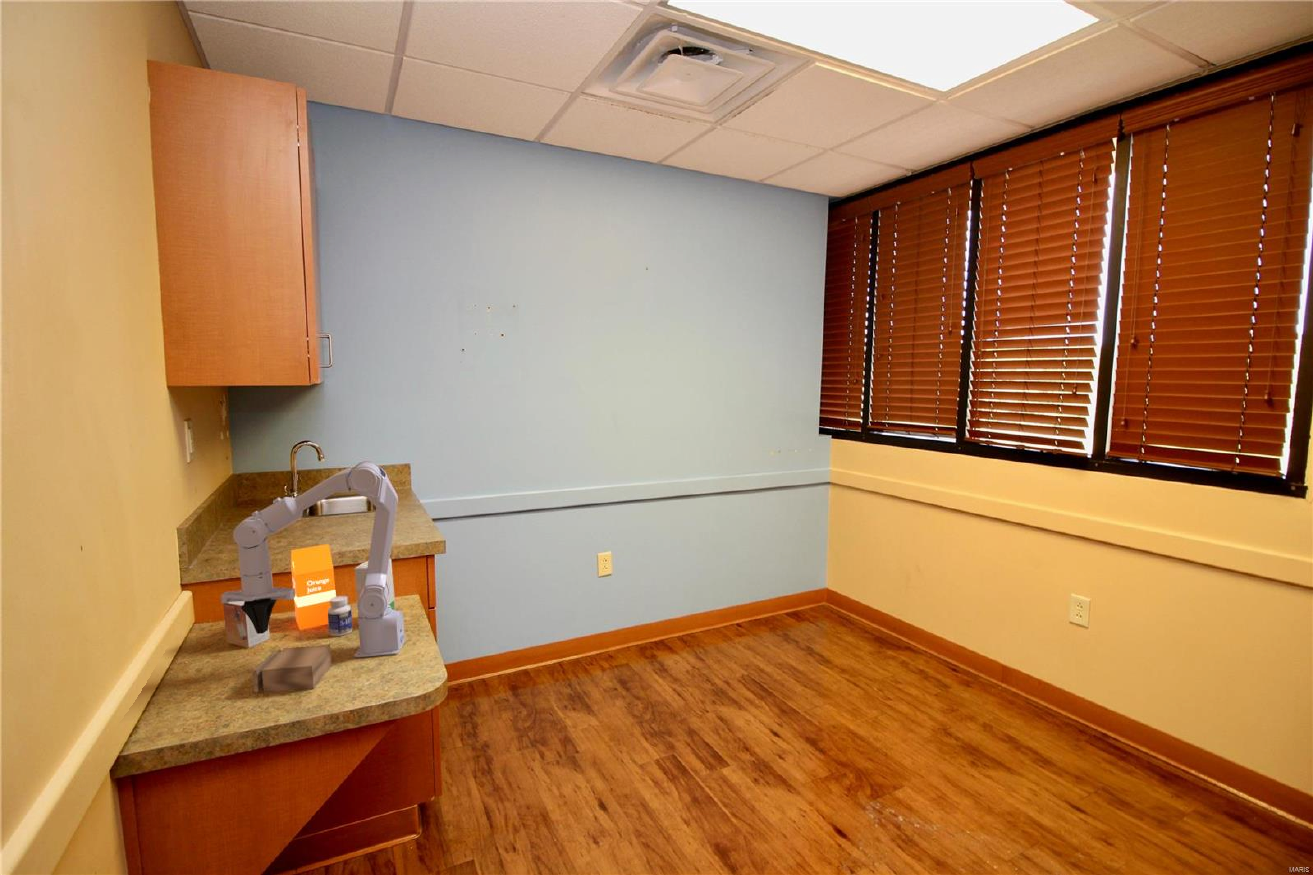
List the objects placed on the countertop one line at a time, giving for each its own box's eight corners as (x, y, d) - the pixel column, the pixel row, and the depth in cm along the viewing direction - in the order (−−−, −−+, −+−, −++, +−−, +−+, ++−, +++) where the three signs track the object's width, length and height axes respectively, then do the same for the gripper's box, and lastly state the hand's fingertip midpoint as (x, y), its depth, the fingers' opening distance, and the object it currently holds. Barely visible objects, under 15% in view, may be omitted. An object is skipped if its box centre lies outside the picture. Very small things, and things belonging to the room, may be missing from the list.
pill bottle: (343, 637, 153) (340, 602, 152) (324, 636, 154) (321, 601, 153) (357, 628, 158) (354, 595, 157) (339, 627, 159) (336, 594, 158)
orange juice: (295, 620, 164) (289, 547, 162) (332, 612, 169) (326, 541, 167) (299, 630, 158) (293, 553, 155) (338, 621, 163) (332, 547, 161)
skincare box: (382, 627, 158) (378, 568, 157) (357, 627, 159) (352, 568, 157) (396, 614, 167) (392, 558, 165) (372, 614, 167) (368, 558, 165)
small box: (226, 643, 151) (221, 602, 150) (248, 634, 156) (244, 594, 155) (248, 648, 148) (244, 606, 146) (270, 639, 153) (266, 597, 152)
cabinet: (331, 666, 138) (329, 644, 137) (313, 688, 128) (311, 665, 127) (285, 670, 136) (283, 648, 136) (263, 693, 126) (261, 670, 126)
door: (283, 668, 137) (281, 648, 136) (258, 691, 127) (256, 670, 126) (277, 668, 137) (275, 648, 136) (252, 691, 127) (250, 670, 126)
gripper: (209, 580, 131) (216, 641, 132) (281, 576, 132) (287, 637, 133) (230, 569, 138) (236, 627, 139) (297, 565, 139) (303, 624, 140)
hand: (262, 631), depth 137 cm, fingers closed
